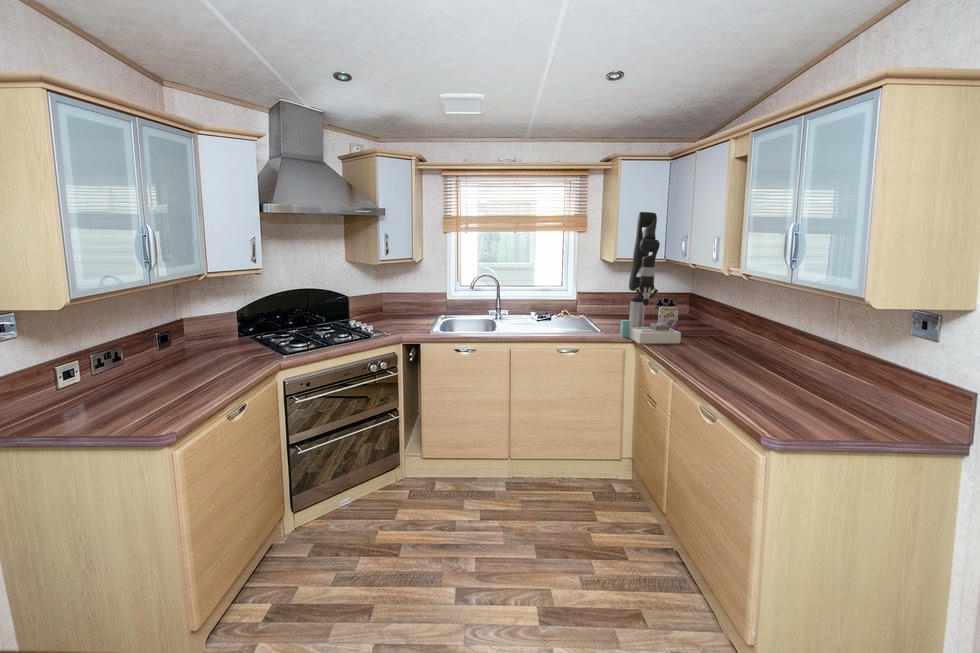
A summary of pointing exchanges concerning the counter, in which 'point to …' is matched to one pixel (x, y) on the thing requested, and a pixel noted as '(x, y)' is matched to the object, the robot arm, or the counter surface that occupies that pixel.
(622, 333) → the plug
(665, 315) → the candy bar box
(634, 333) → the white tray
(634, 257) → the robot arm
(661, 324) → the shutter
